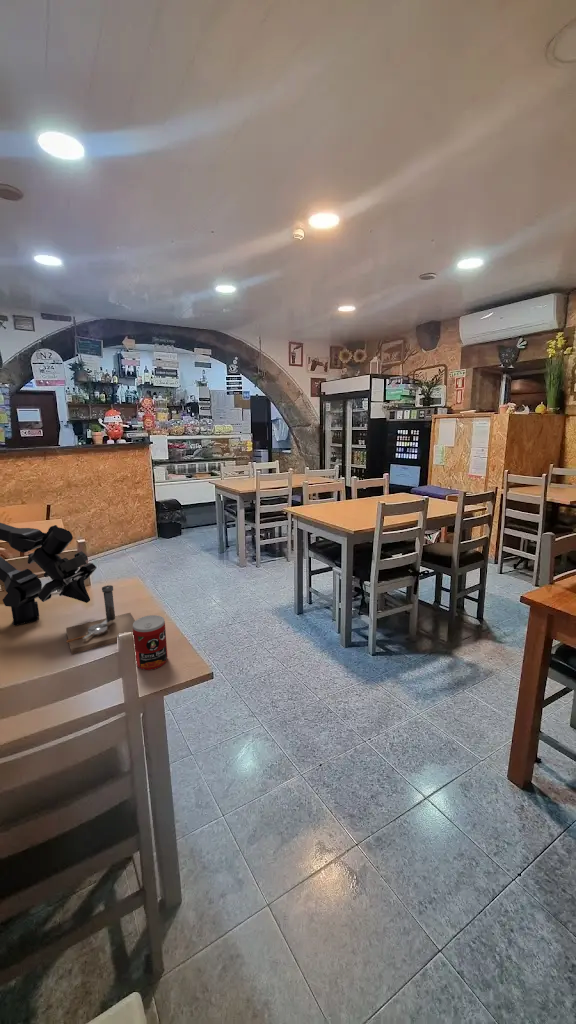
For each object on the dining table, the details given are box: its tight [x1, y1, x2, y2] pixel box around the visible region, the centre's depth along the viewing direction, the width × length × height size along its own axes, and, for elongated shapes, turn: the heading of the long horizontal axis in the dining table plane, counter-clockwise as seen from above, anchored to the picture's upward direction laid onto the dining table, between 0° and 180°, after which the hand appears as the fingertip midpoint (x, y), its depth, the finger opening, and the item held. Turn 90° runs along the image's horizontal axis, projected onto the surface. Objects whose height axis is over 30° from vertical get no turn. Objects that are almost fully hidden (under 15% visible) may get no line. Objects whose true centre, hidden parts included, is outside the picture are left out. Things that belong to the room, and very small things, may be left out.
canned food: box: [133, 614, 168, 671], centre depth 105 cm, size 8×8×11 cm
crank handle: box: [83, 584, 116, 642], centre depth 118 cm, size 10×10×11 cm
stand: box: [65, 612, 136, 655], centre depth 120 cm, size 19×14×2 cm
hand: (88, 601), depth 123 cm, fingers closed
